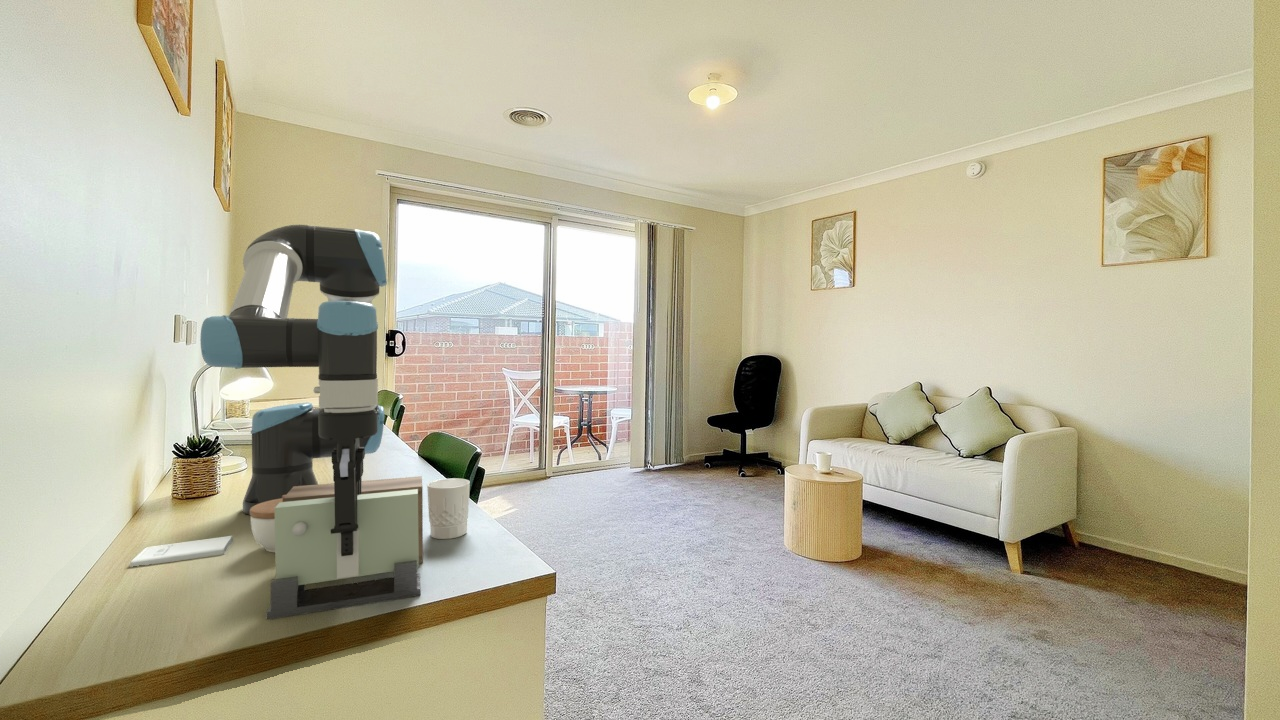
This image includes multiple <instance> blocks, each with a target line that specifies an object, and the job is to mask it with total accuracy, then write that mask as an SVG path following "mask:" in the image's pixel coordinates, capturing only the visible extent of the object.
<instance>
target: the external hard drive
mask: <svg viewBox="0 0 1280 720" xmlns="http://www.w3.org/2000/svg"><path fill="white" fill-rule="evenodd" d="M233 540H234V539H233V535H228V536H227V535H226V536H220V537H219V536H218V537H213V538H212V537H211V538H206V539H205V538H203V539H197V540H190V541H189V540H188V541H181V542H176V543H175V542H174V543H167V544H161V545H152V546H146V547H144V548H143V550H141V551H140V552H139V553H138V554H137V555H136V556H135V557H134V558H133V559H131V561H130V565H129V566H130V568H134V567H133V566H137V567H140V566H139V565H145V566H150V565H149V564H152V565H159V564H165V563H172V562H178V561H187V560H193V559H194V560H195V559H201V558H202V559H203V558H207V557H208V558H209V557H214V556H215V557H216V556H221V555H222V556H224V555H225V553H226V552H227V550H228V549H229V548H230V545H231V544H232V542H233Z"/></svg>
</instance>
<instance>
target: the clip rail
mask: <svg viewBox="0 0 1280 720" xmlns="http://www.w3.org/2000/svg"><path fill="white" fill-rule="evenodd" d="M417 571H418V568H417V560H414V561H407V562H399V563H394V571H393V573H394V574H393V575H394V576H392V577H391V576H390V577H385V578H378V579H370V580H369V579H368V580H363V581H356V582H351V583H350V582H347V583H342V584H336V585H328V586H322V587H315V588H307V589H306V584H304V585H298V576H296V577H288V578H281V579H276V578H274V579H272V580H271V581H270V606H269V607H268V609H267V610H266V620H267V621H268V620H274V619H280V618H286V617H293V616H299V615H305V614H311V613H312V614H313V613H317V612H318V613H319V612H324V611H330V610H336V609H337V610H338V609H345V608H349V607H351V608H352V607H356V606H362V605H369V604H374V603H381V602H388V601H395V600H400V599H406V598H413V597H419V596H421V595H422V594H421V591H422V590H421V573H420V572H419V573H418V572H417Z"/></svg>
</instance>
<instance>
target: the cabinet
mask: <svg viewBox="0 0 1280 720" xmlns="http://www.w3.org/2000/svg"><path fill="white" fill-rule="evenodd" d="M413 489H418V538H419V564H423V563H424V561H423V560H424V559H423V555H424V551H423V549H424V548H423V547H424V543H423V541H424V540H423V539H424V537H423V535H424V534H423V531H424V529H423V520H424V519H423V515H424V514H423V506H424V505H423V500H424V499H423V497H424V495H423V476H422V475H421V476H410V477H409V476H408V477H407V476H406V477H397V478H384V479H371V480H370V479H369V480H362V483H361V495H362V494H372V493H382V492H393V491H403V490H413ZM331 497H335V494H334V482H333V483H321V484H319V483H318V485H306V486H294V487H293V488H292V489H291V490H290V491H289V492H288V493H287V494H286V496H285V497H284V498H283V502H289V501H300V500H310V499H320V498H331Z"/></svg>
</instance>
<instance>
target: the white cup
mask: <svg viewBox="0 0 1280 720" xmlns="http://www.w3.org/2000/svg"><path fill="white" fill-rule="evenodd" d="M470 484H471V481H470V480H469V479H465V478H459V477H458V478H456V477H453V478H442V479H436V480H433V481H430V482H428V483H427V484H426V487H427V505H428V506H427V507H428V522H429V525H430V527H429V528H430V537H431V538H433V539H439V540H450V539H454V538H459V537H461V536H464V535H465V534H466V533H467V532H468V518H469V506H470V487H471V486H470Z"/></svg>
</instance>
